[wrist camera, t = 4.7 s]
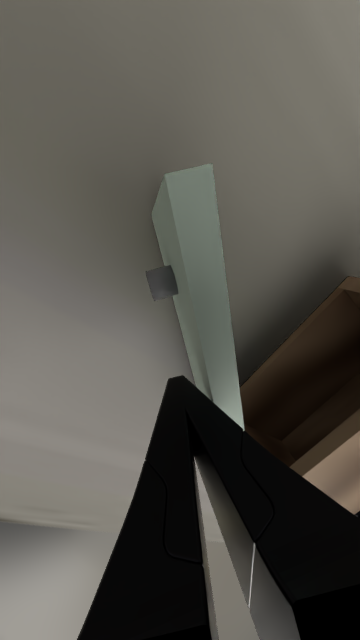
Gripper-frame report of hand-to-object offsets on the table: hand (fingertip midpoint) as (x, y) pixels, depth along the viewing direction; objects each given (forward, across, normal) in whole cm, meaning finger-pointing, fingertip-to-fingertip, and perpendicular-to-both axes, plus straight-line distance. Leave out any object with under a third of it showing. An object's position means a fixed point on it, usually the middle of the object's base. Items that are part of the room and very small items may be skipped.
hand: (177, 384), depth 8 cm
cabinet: (+4, -12, +7) cm, 14 cm away
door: (+4, -1, +1) cm, 5 cm away
